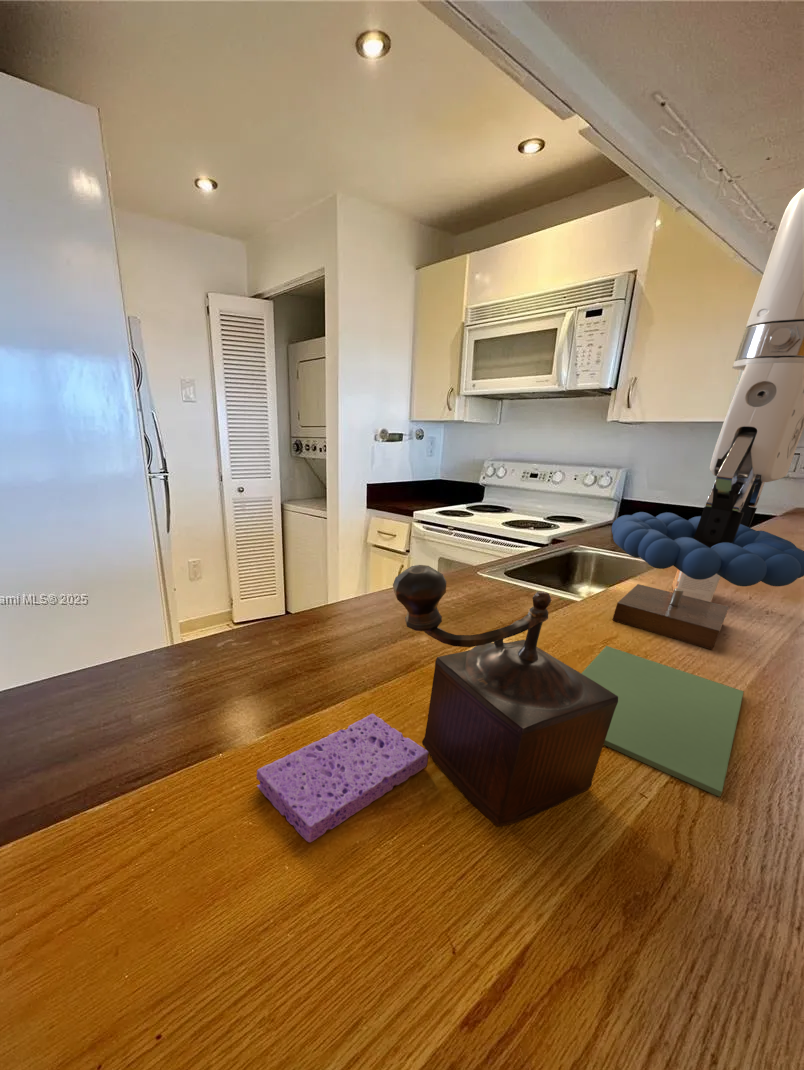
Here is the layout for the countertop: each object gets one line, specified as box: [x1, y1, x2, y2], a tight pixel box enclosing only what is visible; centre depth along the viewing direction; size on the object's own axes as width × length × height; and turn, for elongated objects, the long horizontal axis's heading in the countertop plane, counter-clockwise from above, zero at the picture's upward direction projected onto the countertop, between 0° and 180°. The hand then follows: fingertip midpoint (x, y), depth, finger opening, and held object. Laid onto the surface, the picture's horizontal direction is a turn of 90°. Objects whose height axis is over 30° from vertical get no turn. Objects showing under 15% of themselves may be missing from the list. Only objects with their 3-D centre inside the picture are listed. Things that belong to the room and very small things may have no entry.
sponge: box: [256, 713, 429, 843], centre depth 39 cm, size 7×13×2 cm, turn 131°
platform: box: [611, 583, 730, 651], centre depth 73 cm, size 13×13×6 cm
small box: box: [671, 569, 722, 602], centre depth 85 cm, size 8×6×10 cm
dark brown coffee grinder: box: [392, 564, 618, 828], centre depth 37 cm, size 16×11×18 cm
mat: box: [580, 645, 745, 798], centre depth 52 cm, size 22×15×1 cm
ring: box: [611, 511, 804, 587], centre depth 46 cm, size 18×15×3 cm
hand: (717, 543), depth 50 cm, fingers closed on ring, 4 cm apart
